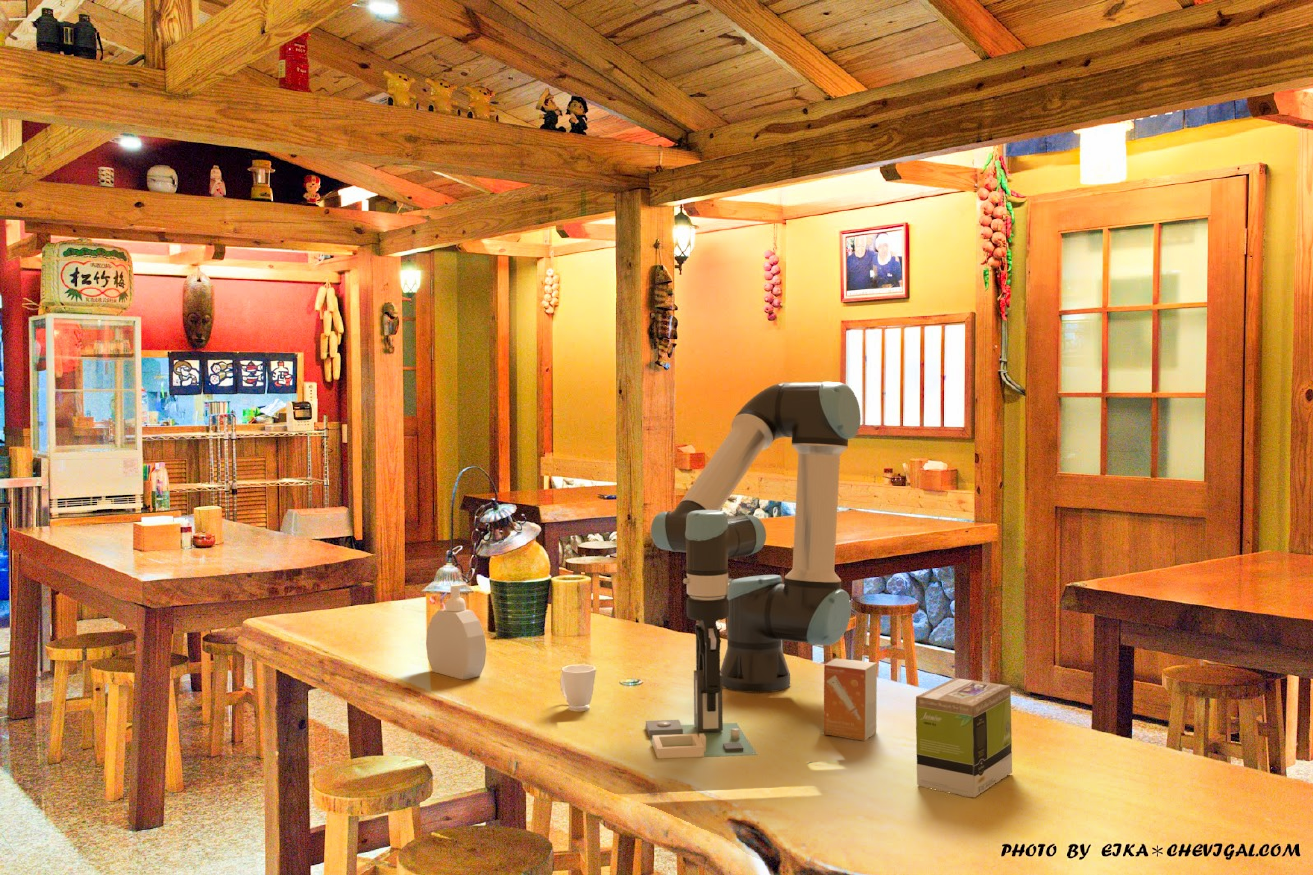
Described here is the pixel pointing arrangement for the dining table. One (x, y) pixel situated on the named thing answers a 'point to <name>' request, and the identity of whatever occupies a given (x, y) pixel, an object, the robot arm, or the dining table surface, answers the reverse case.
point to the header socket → (679, 751)
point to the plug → (699, 703)
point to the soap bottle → (456, 640)
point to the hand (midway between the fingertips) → (708, 723)
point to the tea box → (963, 736)
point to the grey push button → (663, 727)
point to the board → (721, 741)
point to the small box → (850, 698)
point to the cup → (578, 686)
